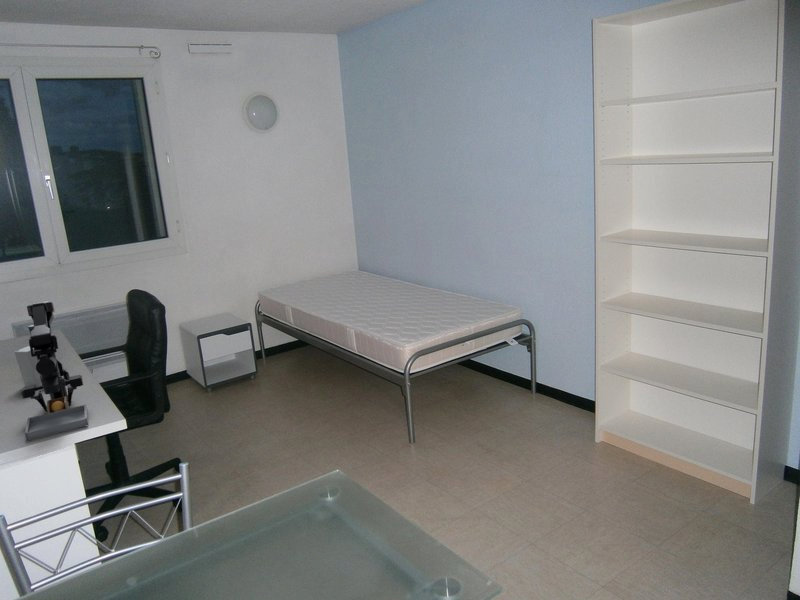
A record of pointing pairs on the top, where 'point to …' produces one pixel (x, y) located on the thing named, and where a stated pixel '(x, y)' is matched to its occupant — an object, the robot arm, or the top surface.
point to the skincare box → (28, 366)
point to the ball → (57, 406)
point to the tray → (56, 422)
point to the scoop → (50, 402)
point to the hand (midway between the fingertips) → (58, 408)
